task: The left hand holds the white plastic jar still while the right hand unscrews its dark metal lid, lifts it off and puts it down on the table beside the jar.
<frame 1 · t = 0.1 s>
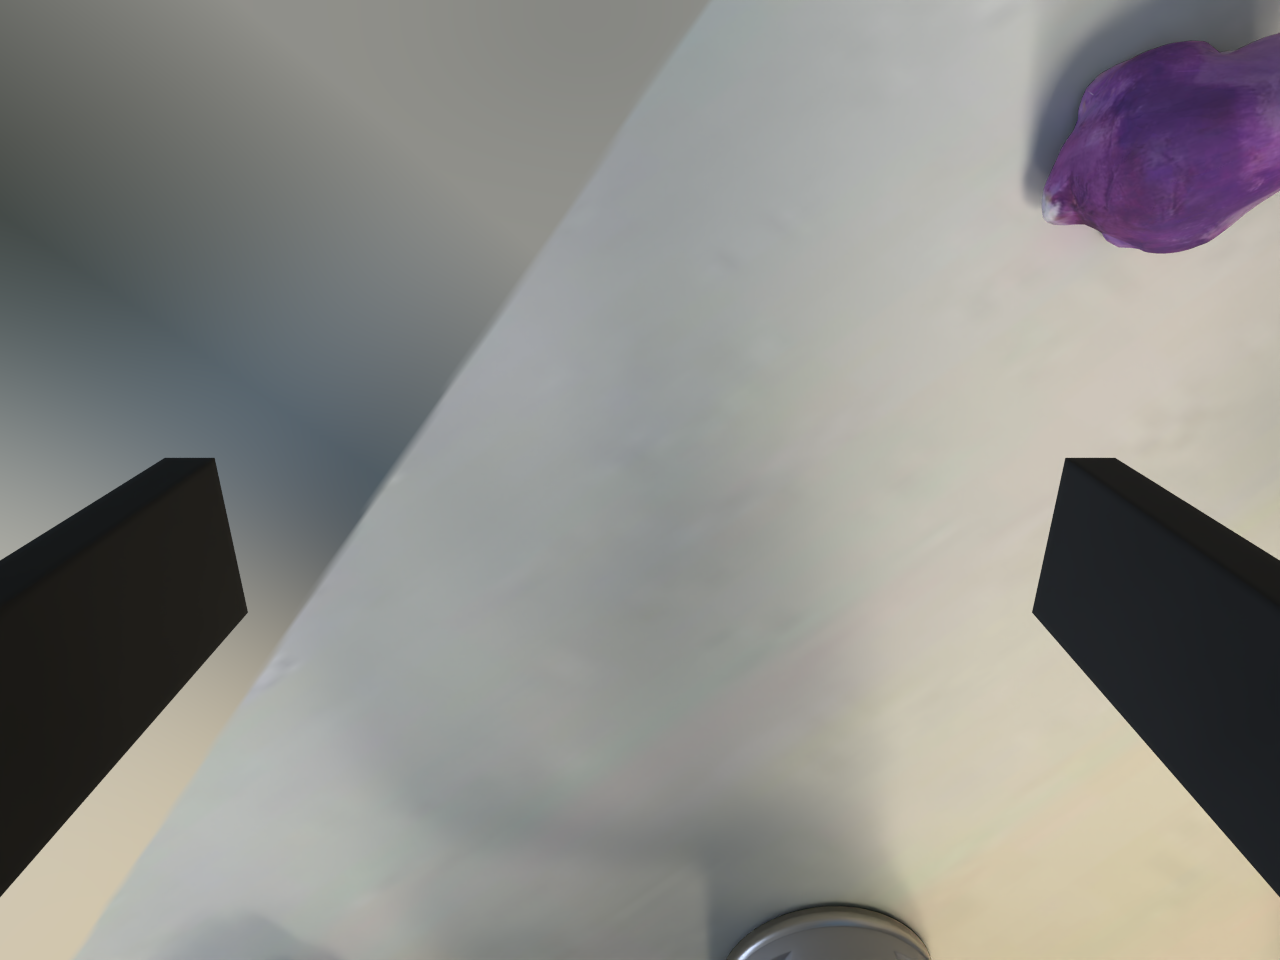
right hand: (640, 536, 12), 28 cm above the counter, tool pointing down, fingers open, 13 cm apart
figurine: (1152, 130, 36), on the counter
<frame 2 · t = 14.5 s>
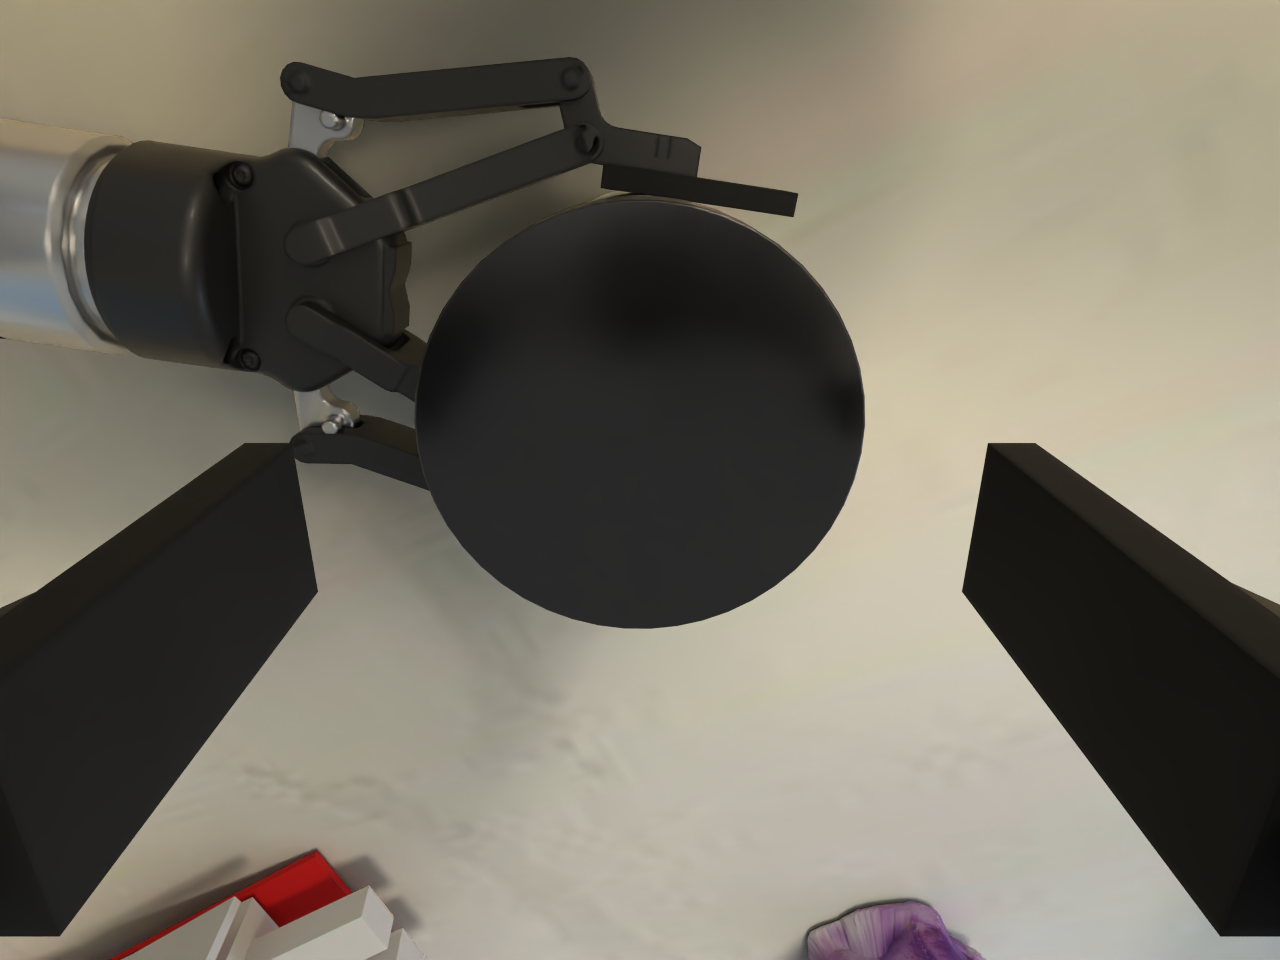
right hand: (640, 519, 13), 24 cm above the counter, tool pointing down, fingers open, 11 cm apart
left hand: (761, 339, 29), fingers closed on jar, 9 cm apart
toy: (211, 947, 51), on the counter
figurine: (874, 945, 51), on the counter
lid: (639, 432, 17), point 19 cm above the counter, screwed on, not yet turned
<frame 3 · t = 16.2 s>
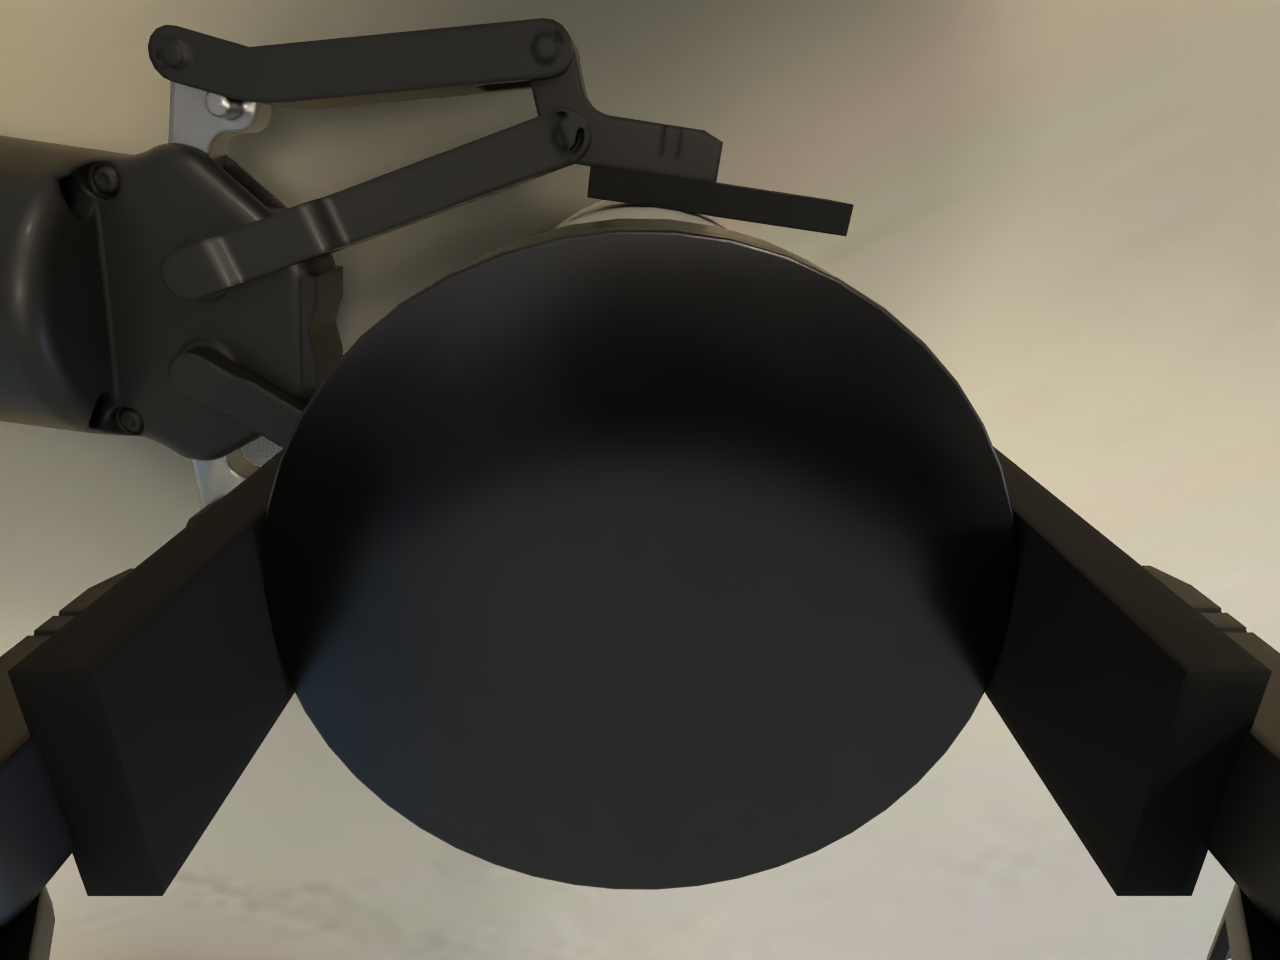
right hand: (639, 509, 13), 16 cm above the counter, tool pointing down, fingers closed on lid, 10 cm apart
left hand: (797, 392, 23), fingers closed on jar, 9 cm apart
jar: (640, 326, 28), on the counter, touching left hand
lid: (639, 604, 11), point 19 cm above the counter, screwed on, not yet turned, touching right hand
when the right hand's fingers open (16 cm above the counter, at t = 17.9 s): lid stays where it is, point 20 cm above the counter.
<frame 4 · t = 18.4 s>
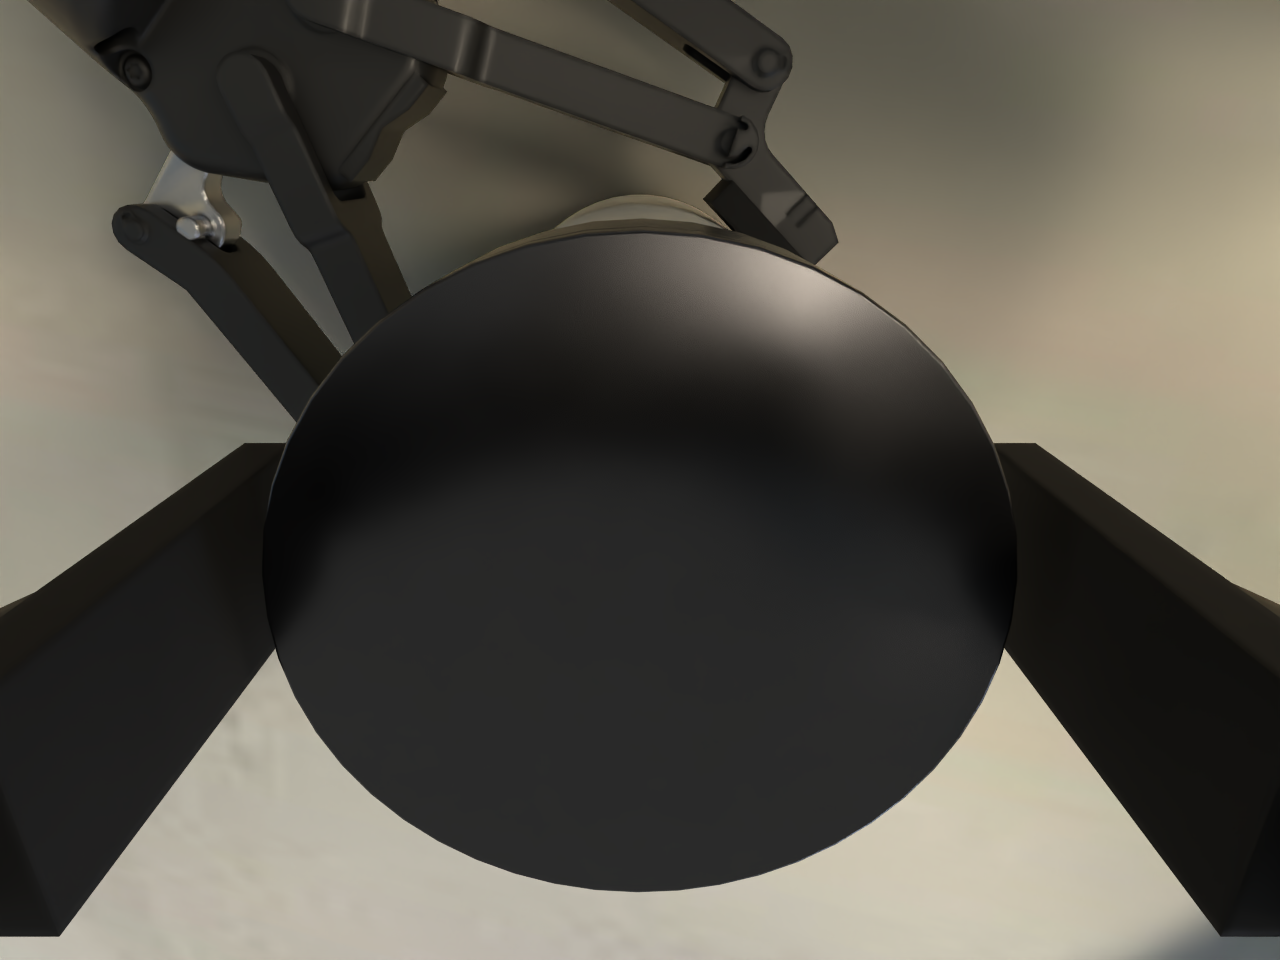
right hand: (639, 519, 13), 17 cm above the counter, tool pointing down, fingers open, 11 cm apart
left hand: (747, 473, 24), fingers closed on jar, 9 cm apart
jar: (640, 324, 29), on the counter, touching left hand
lid: (639, 606, 11), point 20 cm above the counter, turned 101° so far, risen 0.3 cm, still on its thread
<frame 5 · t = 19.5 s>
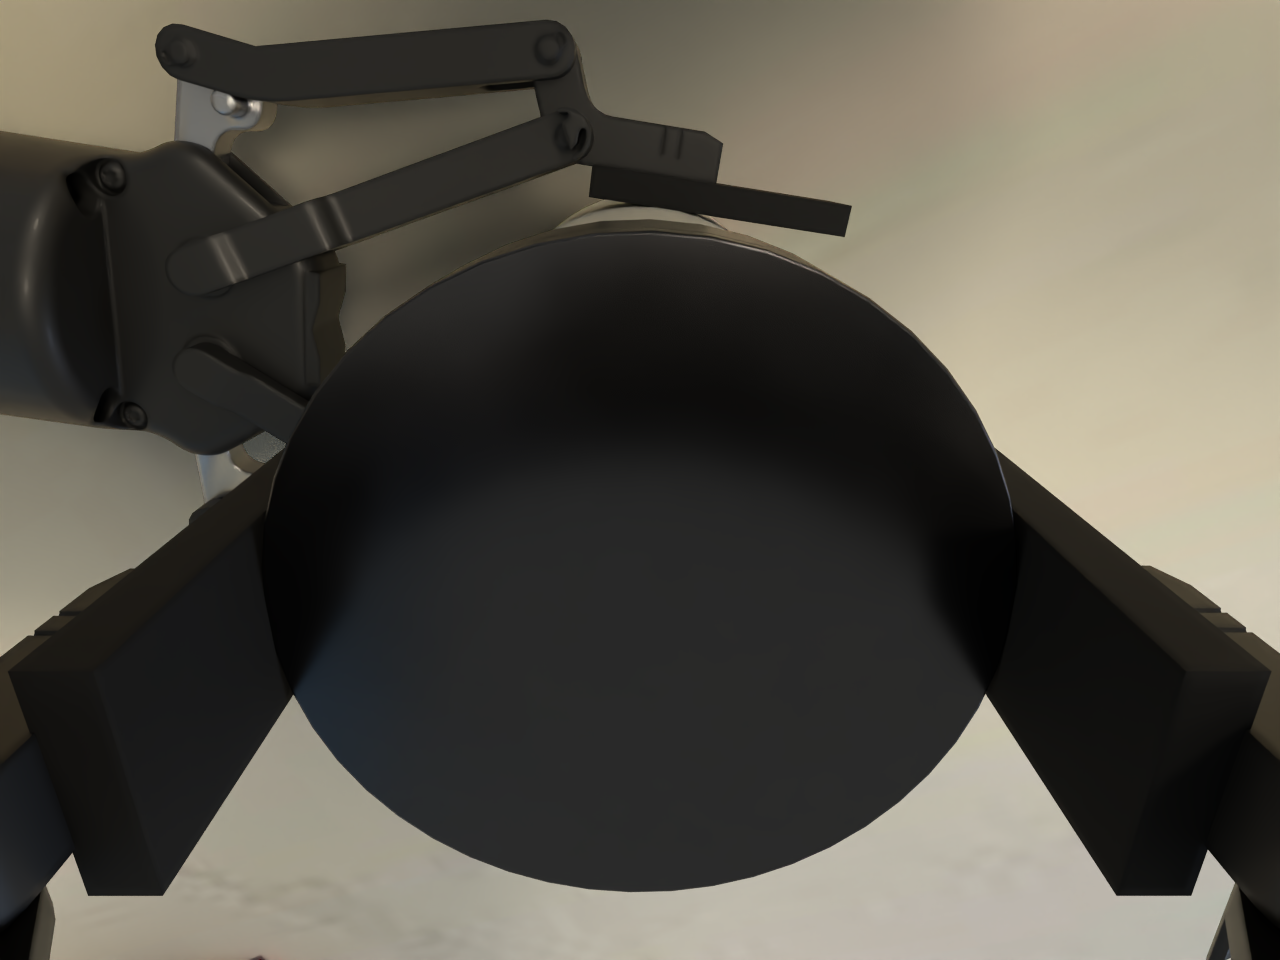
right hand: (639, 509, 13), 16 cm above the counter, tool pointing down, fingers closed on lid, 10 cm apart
left hand: (795, 391, 23), fingers closed on jar, 9 cm apart
jar: (639, 324, 29), on the counter, touching left hand
lid: (639, 606, 11), point 20 cm above the counter, turned 101° so far, risen 0.3 cm, still on its thread, touching right hand
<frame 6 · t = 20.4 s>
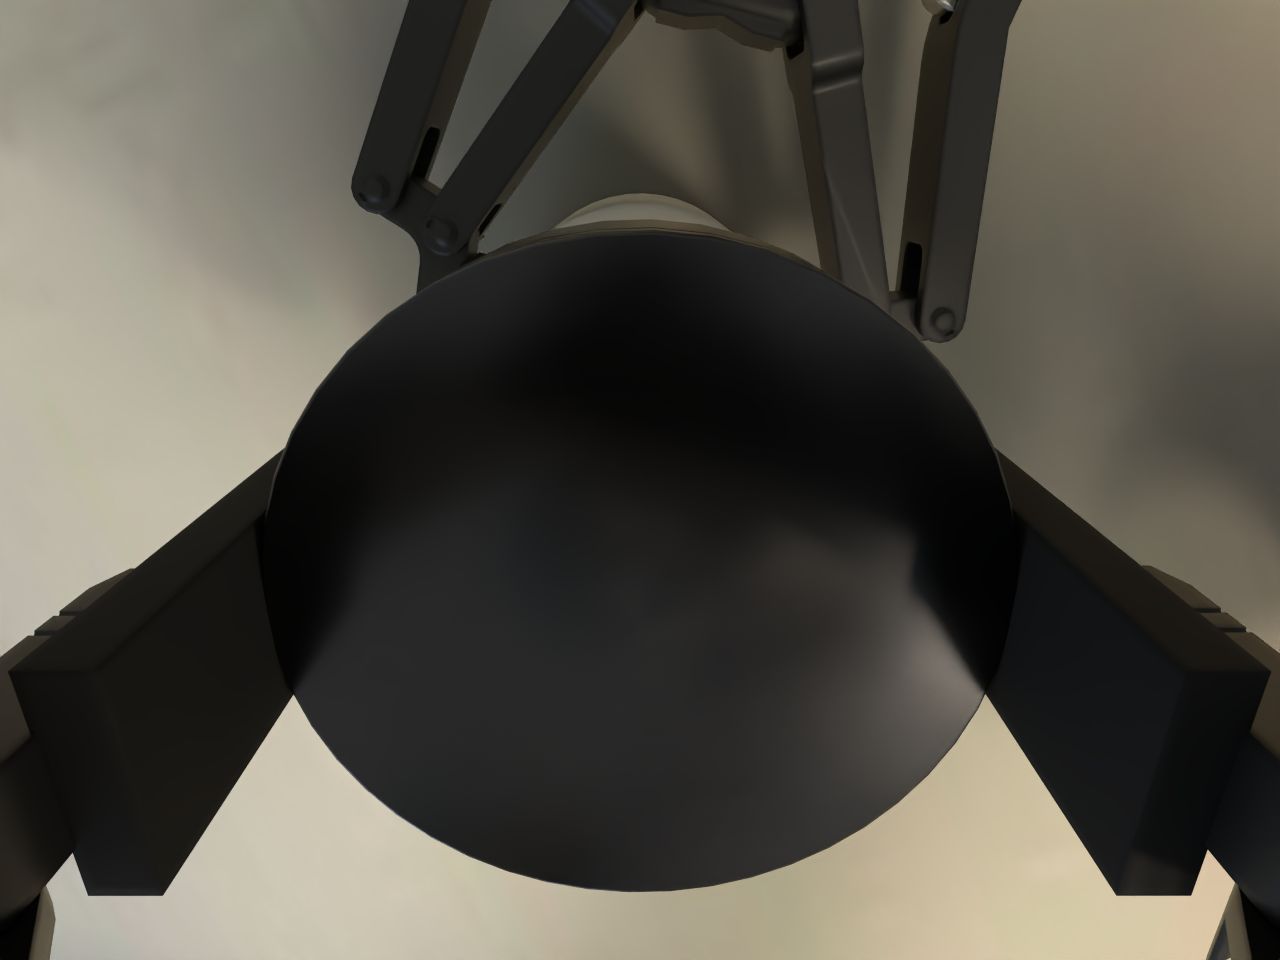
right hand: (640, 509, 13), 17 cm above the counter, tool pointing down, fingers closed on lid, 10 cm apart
jar: (640, 322, 29), on the counter, touching left hand
lid: (639, 606, 11), point 20 cm above the counter, off its thread, touching right hand
when the right hand's fingers open (0 cm above the counter, at t = 26.7 s): lid drops 2 cm, point 1 cm above the counter.
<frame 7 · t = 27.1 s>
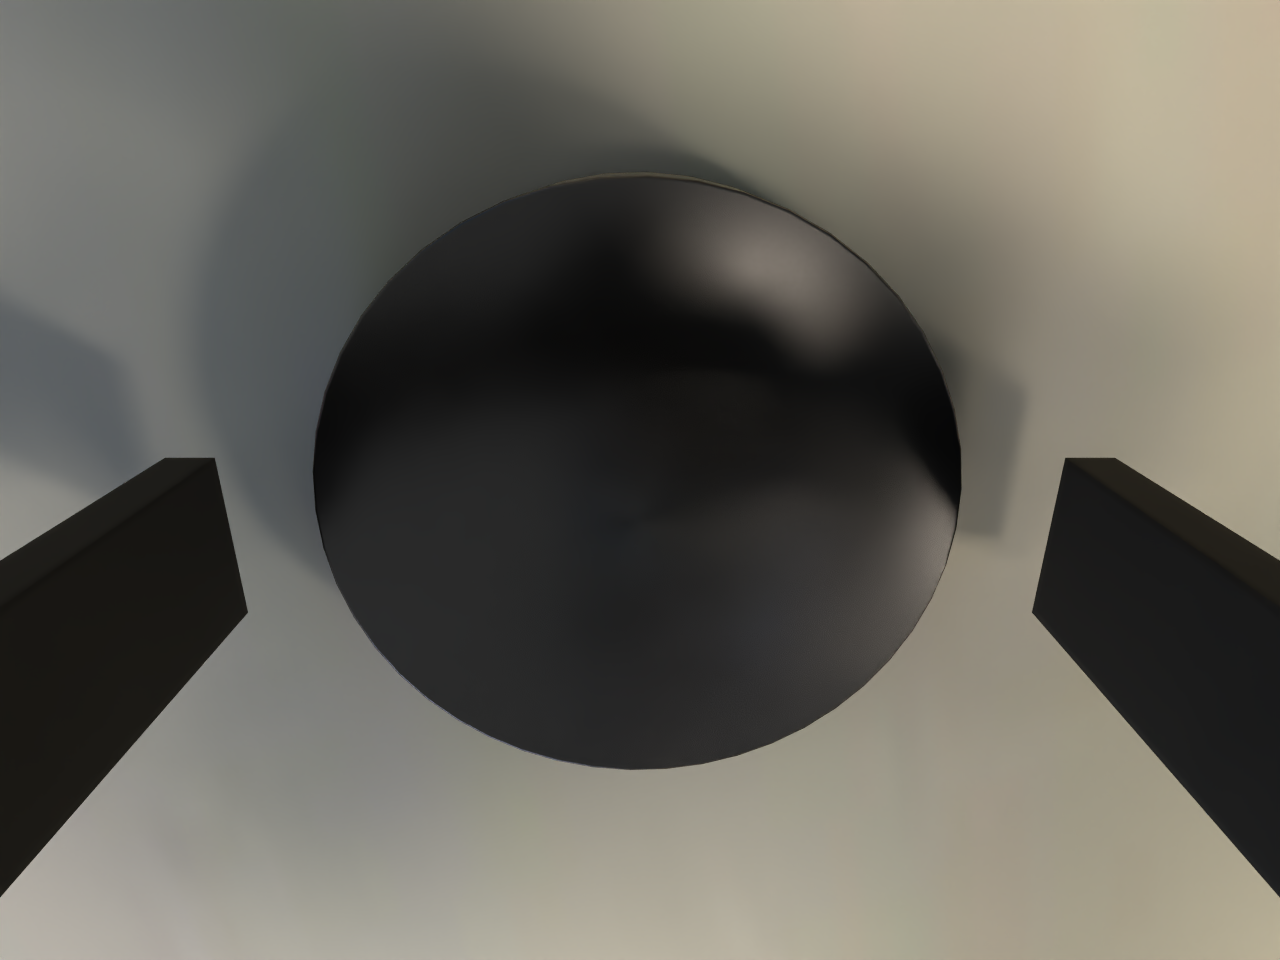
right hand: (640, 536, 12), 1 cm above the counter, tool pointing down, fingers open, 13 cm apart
lid: (637, 509, 12), point 1 cm above the counter, off its thread
when the left hand's fingers open (7 cm above the counter, at t = 27.7 s): jar stays where it is, on the counter.
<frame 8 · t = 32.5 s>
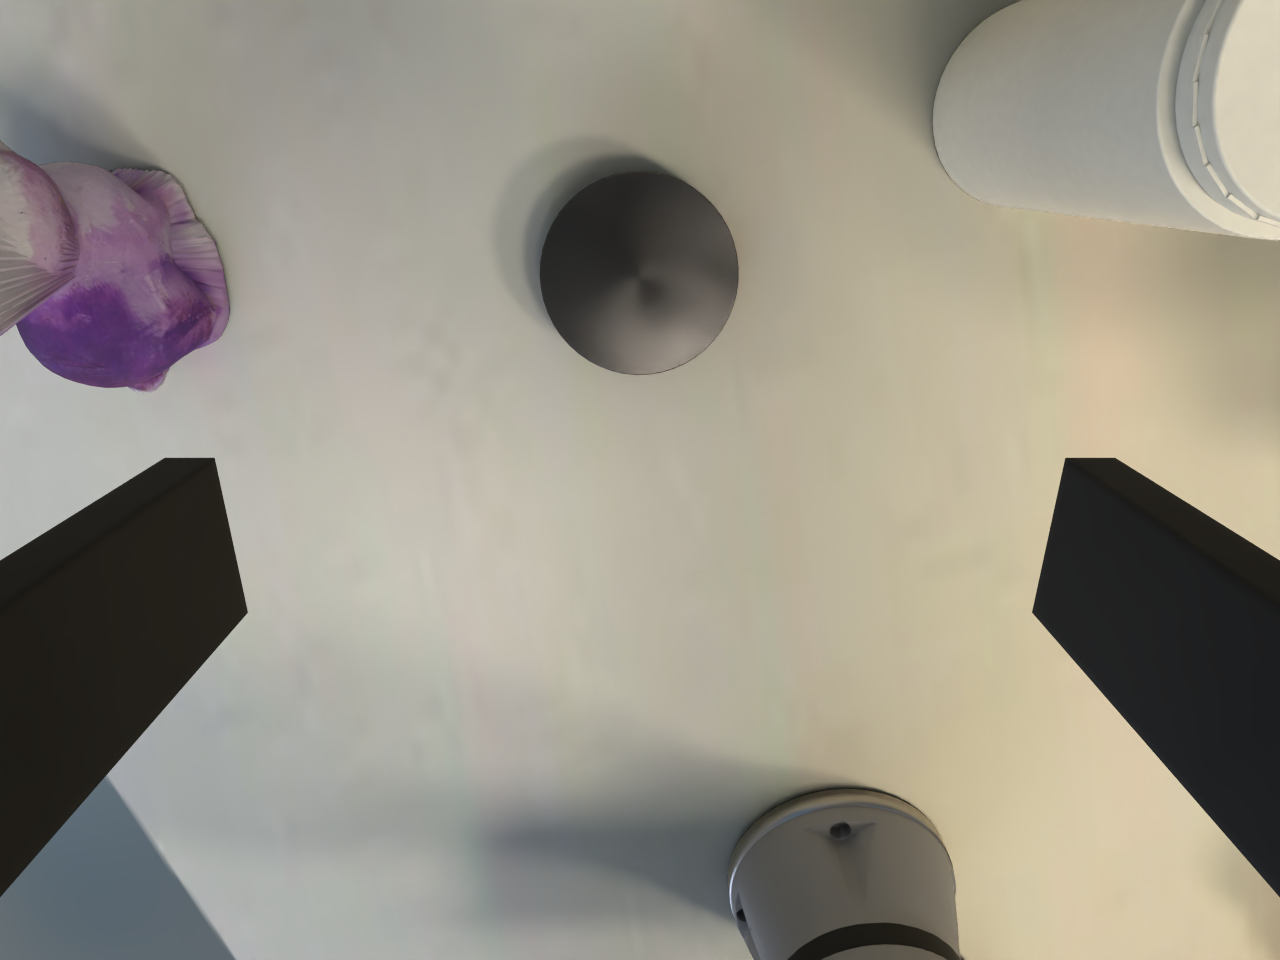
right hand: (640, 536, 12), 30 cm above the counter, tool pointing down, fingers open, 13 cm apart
figurine: (145, 259, 40), on the counter
jar: (1027, 107, 37), on the counter
lid: (639, 277, 39), point 1 cm above the counter, off its thread
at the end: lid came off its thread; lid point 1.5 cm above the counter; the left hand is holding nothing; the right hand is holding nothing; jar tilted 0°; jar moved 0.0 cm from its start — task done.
